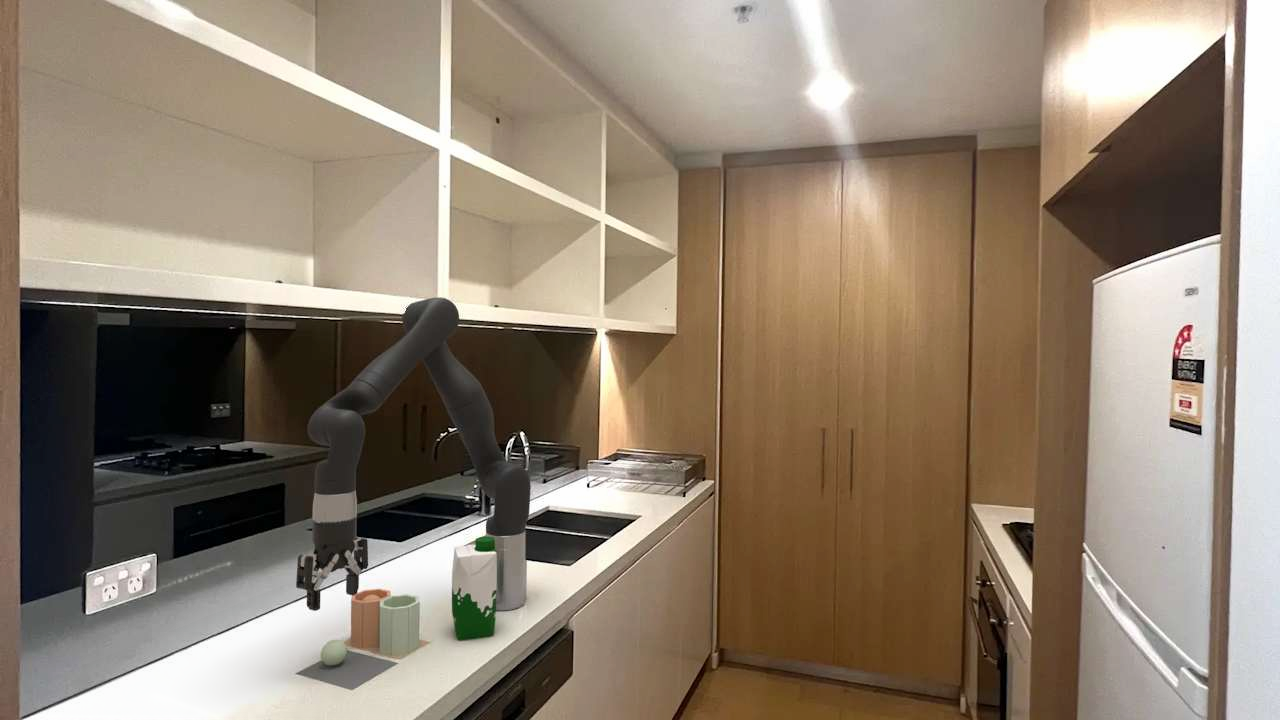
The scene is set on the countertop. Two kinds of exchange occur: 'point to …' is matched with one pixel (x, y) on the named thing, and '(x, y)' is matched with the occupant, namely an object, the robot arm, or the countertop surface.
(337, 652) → the ball sage
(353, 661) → the mat
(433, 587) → the countertop surface
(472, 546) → the milk carton
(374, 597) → the ball rust
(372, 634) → the tubes
